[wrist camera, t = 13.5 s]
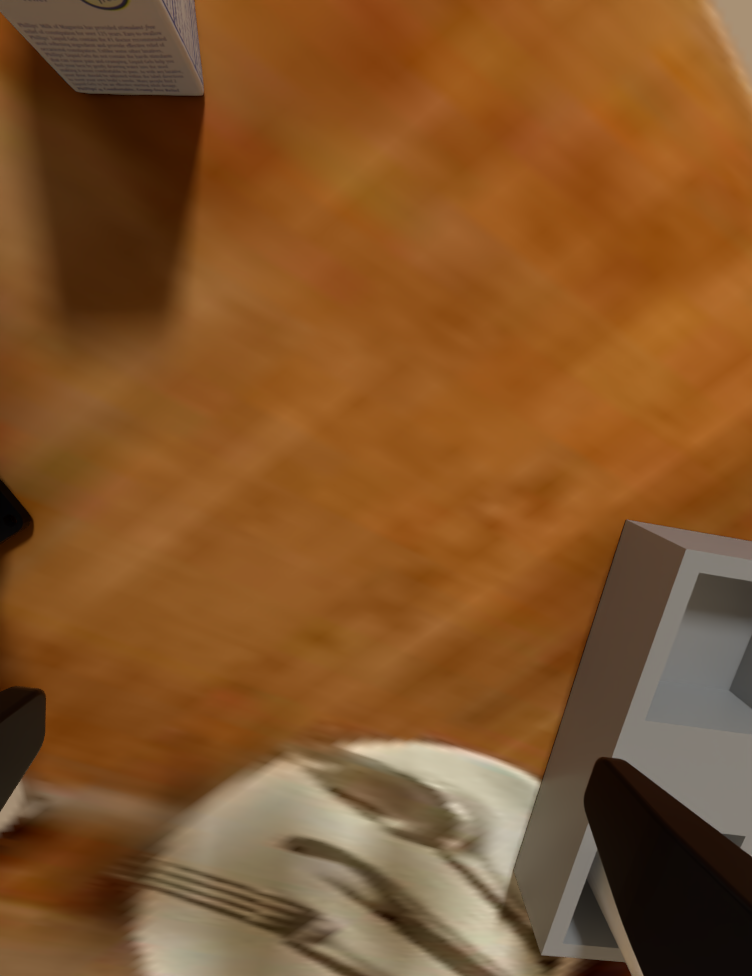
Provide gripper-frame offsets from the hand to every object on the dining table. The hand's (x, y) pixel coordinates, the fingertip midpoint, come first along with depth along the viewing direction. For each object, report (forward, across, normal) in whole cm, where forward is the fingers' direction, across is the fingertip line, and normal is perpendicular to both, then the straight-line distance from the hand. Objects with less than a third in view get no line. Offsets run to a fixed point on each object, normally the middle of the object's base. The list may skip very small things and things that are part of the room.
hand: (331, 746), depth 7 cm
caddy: (+12, -16, +8) cm, 22 cm away
